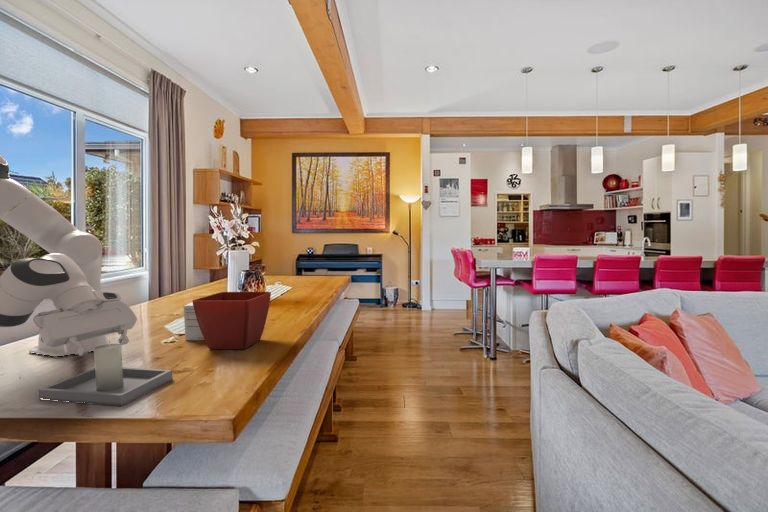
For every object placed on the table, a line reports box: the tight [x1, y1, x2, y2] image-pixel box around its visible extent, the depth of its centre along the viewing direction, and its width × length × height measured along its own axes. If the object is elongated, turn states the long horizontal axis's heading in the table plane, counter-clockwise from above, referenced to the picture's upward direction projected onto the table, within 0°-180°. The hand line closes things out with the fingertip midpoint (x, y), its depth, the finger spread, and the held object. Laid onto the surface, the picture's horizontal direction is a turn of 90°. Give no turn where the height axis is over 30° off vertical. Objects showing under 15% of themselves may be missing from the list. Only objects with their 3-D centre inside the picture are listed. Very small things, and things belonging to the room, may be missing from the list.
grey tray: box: [37, 366, 173, 407], centre depth 96 cm, size 22×16×2 cm
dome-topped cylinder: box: [93, 343, 124, 391], centre depth 96 cm, size 6×6×10 cm
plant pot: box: [191, 291, 272, 350], centre depth 133 cm, size 19×19×17 cm
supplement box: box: [183, 301, 205, 341], centre depth 143 cm, size 7×7×13 cm
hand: (105, 348), depth 97 cm, fingers open, 8 cm apart
